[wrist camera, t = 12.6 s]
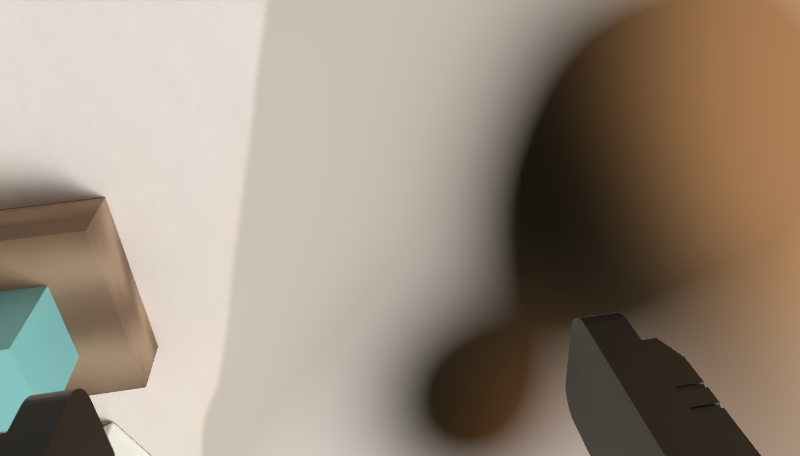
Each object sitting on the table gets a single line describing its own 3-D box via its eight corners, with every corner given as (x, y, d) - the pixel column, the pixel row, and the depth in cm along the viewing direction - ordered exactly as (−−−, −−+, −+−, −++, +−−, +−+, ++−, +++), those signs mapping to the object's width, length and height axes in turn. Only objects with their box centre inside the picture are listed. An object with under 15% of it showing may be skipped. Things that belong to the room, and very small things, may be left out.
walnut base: (-102, 222, 37) (-144, 259, 34) (105, 197, 38) (85, 230, 34) (-19, 371, 43) (-47, 415, 40) (157, 346, 44) (145, 387, 41)
